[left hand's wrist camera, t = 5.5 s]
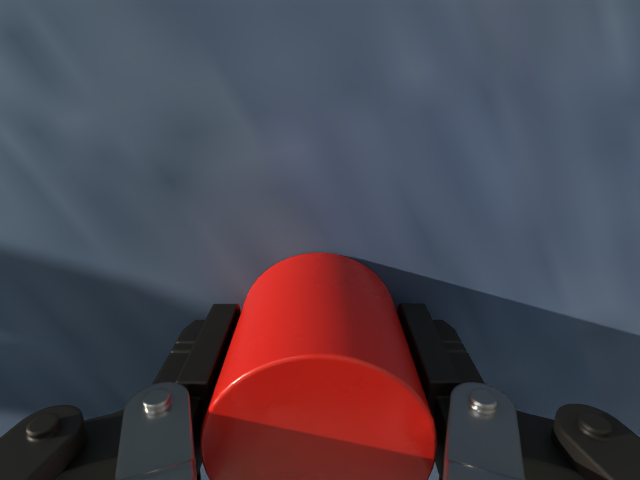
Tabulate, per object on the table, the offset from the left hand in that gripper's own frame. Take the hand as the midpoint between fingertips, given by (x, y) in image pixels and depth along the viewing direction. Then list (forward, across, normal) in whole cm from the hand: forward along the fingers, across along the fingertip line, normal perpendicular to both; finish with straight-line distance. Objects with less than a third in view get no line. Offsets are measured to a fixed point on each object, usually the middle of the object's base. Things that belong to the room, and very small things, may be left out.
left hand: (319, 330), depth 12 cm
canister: (0, 0, 0) cm, 0 cm away
